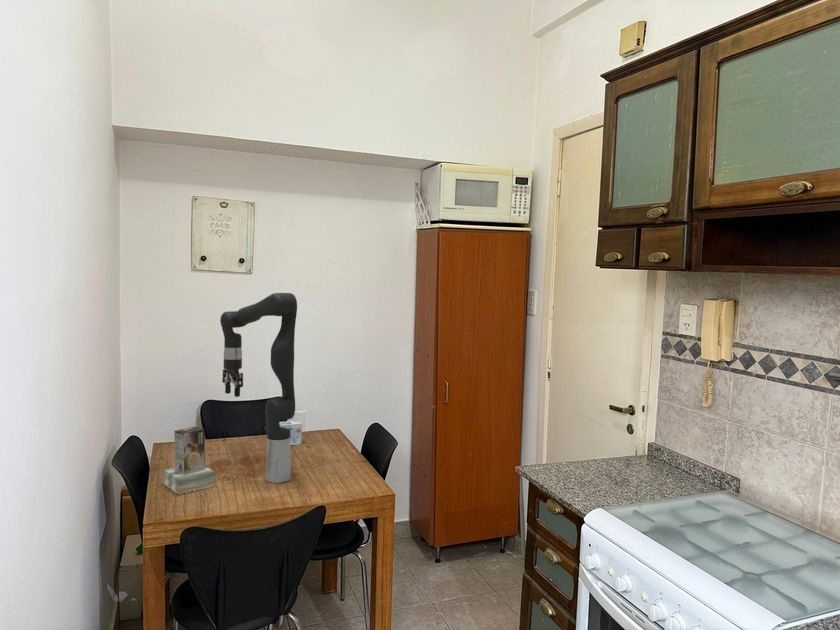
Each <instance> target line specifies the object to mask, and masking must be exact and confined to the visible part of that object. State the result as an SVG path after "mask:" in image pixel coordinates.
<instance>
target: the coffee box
mask: <svg viewBox="0 0 840 630" xmlns="http://www.w3.org/2000/svg"><path fill="white" fill-rule="evenodd" d="M205 435H206V434H205V428H201V427H200V426H199V427H198V426H192V427H191V426H190V427H186V428H182V429H178V430H177V429H176V430H174V468H175V472H177V473H180V474H183V475H186V474H189V473H193V472H196V471H199V470H203V469H205V466H206V464H205V463H206V462H205V461H206V459H205V456H206V455H205V452H206V450H205V447H206V446H205V443H206V442H205Z"/></svg>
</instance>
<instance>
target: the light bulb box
mask: <svg viewBox="0 0 840 630" xmlns="http://www.w3.org/2000/svg"><path fill="white" fill-rule="evenodd" d="M279 424H280V427H283V428H287V429H289V430H290V433H291V435H290V447H292V446H291V445H295V446H300V445H299V444H301V445H302V437H303V436H302V435H303V434H302V433H303V431H302V430H303V428H302V427H303V423H302V422H301V421H299V420H298V419H297V420H289V421H288V420H285V421H279Z"/></svg>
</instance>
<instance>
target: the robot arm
mask: <svg viewBox="0 0 840 630" xmlns="http://www.w3.org/2000/svg"><path fill="white" fill-rule="evenodd" d="M297 313H298V300H297V298H296V296H295V295H294V294H293V293H291V292H275V293H274V292H273V293H272V294H270V295H268V296H266V297H264V298H263V299H261V300H260V301H258V302H256V303H253V304H250V305H247V306H244V307H241V308H239V310H235V311H224V312H222V314H221V315H220V319H219V321H220V326H221V329H222V332H223V333H222V334H223V337H224V340H223V341H224V350H223V369H222V383H224V389H225V391H224V393H225V394H228V395H229V394H231V392H232V391H231V387H232V385H233V386H234V391H233V392H234V397H235V398H238V397H240V396H241V388H242V387H244V373H243V372H240V370H241V369H242V368H243V350H242V345H243V344H242V343H243V341H242V334H240V333H237V332H235V331H234V328H235V329H237V328H242V327H245V326H247V325H249V324H252V323H255V322H257V321H259V320H261V319H262V317H271V316H273V317H281V322H280V328H279V331H278V332H277V333H278V334H277V335H276V337H275V339H274V341H273V343H272V345H271V348H270V367H271V370H272V371H273V373H274V374H275V377H276V378H277V379H278V382H279V383H280V387H281V396H280V397H273V398H270V399H268V400H266V403H265V406H264V407H265V408H264V411H265V412H264V414H265V418H264V419H265V431H266V477H265V479H266V481H267V482H269V483H273V484H282V483H286V482H290V481H291V479H292V477H291V476H292V475H291V474H292V458H291V446H290V435H291V433H290V430H289V429H287V428H283V427H280V424H279V422H283V421H288V420H291V419H293V418H294V416H295V415H296V414H295V413H296V397H295V396H296V395H295V393H296V392H295V382H294V381H295V377H294V376H295V374H294V373H295V335H296V333H295V331H296V322H297V315H298V314H297Z"/></svg>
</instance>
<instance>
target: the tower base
mask: <svg viewBox="0 0 840 630" xmlns="http://www.w3.org/2000/svg"><path fill="white" fill-rule="evenodd" d="M215 474H216V472H215V470H213V469H211V468H210V467H207V466H206V465H205V469H203V470H199V471H196V472H193V473H189V474H186V475H183V474H180V473H177V472H175V467H171V468H165V469H163V485H166V486H167V487H168V488H167V487H166V486H165V487H166V488H167V489H169V488H170V489H171V490H173V491H174V492H176V493H177V494H182V493H186V494H188V493H187V492H190V493H192V492H191V491H194V492H197V491H196V490H199V491H201V489H203V490H206V488H207V489H211V488H215V485H216V484H215V482H216V479H215V478H216V476H215ZM170 489H169V490H170ZM171 490H170V491H171ZM173 491H172V492H173ZM174 492H173V493H174ZM176 493H175V494H176ZM177 494H176V495H177ZM182 495H183V494H182Z"/></svg>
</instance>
